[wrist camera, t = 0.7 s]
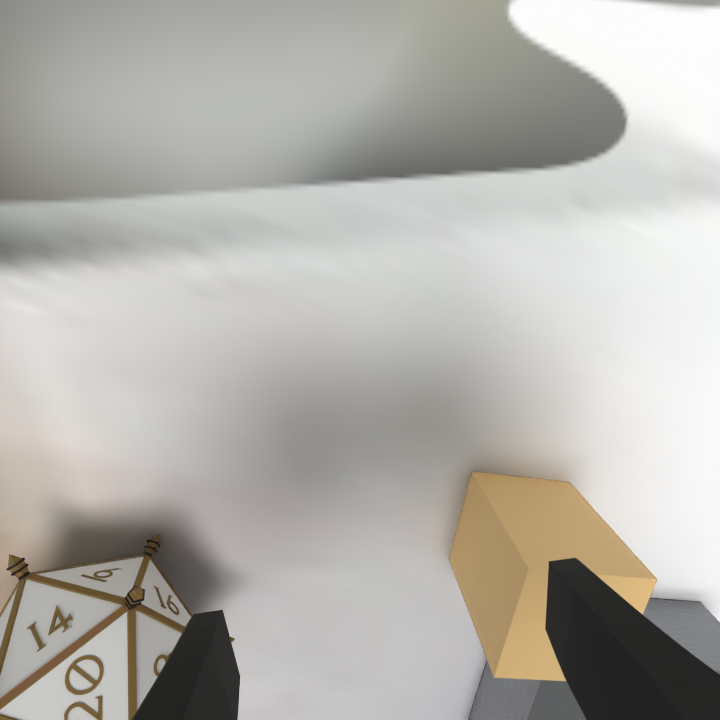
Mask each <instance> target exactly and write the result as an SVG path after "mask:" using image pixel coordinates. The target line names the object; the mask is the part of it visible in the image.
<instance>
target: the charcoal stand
mask: <svg viewBox="0 0 720 720" xmlns="http://www.w3.org/2000/svg"><path fill="white" fill-rule="evenodd" d="M643 615H644V616H645V617H646V618H647V619H649V620H650V621H651V622H652V623H654V624H655V625H656V626H657V627H659V628H660V629H661V630H662V631H664V632H665V633H666V634H667V635H669V636H670V637H671V638H672V639H674V640H675V641H676V642H677V643H679V644H680V645H681V646H682V647H684V648H685V649H686V650H688V651H689V652H690V653H691V654H693V655H694V656H695V657H697V658H698V659H699V660H701V661H702V662H703V663H705V664H706V665H707V666H709V667H710V668H712V669H713V670H714V671H716V672H717V673H718V674H720V622H719V621H718V620H717V619H716V618H715V617H714V616H713V615H712V614H711V613H710V612H709V611H708V610H707V609H706V608H705V607H704V606H703V605H702V604H701V602H692V601H679V600H666V599H653V598H649V600H648V603H647V605H646V608H645V610H644V613H643ZM469 720H586V718H585V716H584V714H583V712H582V710H581V708H580V706H579V704H578V702H577V701H576V699H575V697H574V695H573V693H572V691H571V689H570V687H569V685H568V683H567V681H552V680H531V679H511V678H494V677H493V674H492V672H491V669H490V666H489V664H488V661H487V662H486V665H485V668H484V672H483V675H482V678H481V681H480V684H479V688H478V691H477V694H476V697H475V700H474V704H473V707H472V710H471V713H470V716H469Z"/></svg>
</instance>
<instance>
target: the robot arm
mask: <svg viewBox="0 0 720 720" xmlns="http://www.w3.org/2000/svg"><path fill="white" fill-rule="evenodd" d="M545 630H546V632H547V635H548V637H549V640H550V642H551V645H552V648H553V650H554V653H555V655H556V658H557V660H558V663H559V665H560V667H561V670H562V672H563V675H564V677H565V679H566V681H567V683H568V685H569V687H570V689H571V691H572V693H573V695H574V697H575V699H576V701H577V702H578V704H579V706H580V708H581V710H582V712H583V714H584V716H585V718H586V720H720V674H718V673H717V672H716V671H714V670H713V669H712V668H710V667H709V666H707V665H706V664H705V663H703V662H702V661H701V660H699V659H698V658H697V657H695V656H694V655H693V654H691V653H690V652H689V651H688V650H686V649H685V648H684V647H682V646H681V645H680V644H679V643H677V642H676V641H675V640H674V639H672V638H671V637H670V636H669V635H667V634H666V633H665V632H664V631H662V630H661V629H660V628H659V627H657V626H656V625H655V624H654V623H652V622H651V621H650V620H649V619H647V618H646V617H645V616H644V615H643V614H641V613H640V612H639V611H638V610H637V609H635V608H634V607H633V606H632V605H631V604H629V603H628V602H627V601H626V600H625V599H624V598H622V597H621V596H620V595H619V594H618V593H617V592H615V591H614V590H613V589H612V588H611V587H610V586H608V585H607V584H606V583H605V582H604V581H603V580H601V579H600V578H599V577H598V576H597V575H596V574H594V573H593V572H592V571H591V570H590V569H589V568H588V567H586V566H585V565H584V564H583V563H582V562H580V561H579V560H578V559H577V558H569V559H562V560H555V561H549V569H548V587H547V606H546V624H545ZM239 686H240V674H239V671H238V667H237V663H236V659H235V655H234V652H233V648H232V644H231V640H230V637H229V633H228V629H227V625H226V621H225V618H224V614H223V610H219V611H212V612H205V613H199V614H194V615H193V616H192V617H191V618H190V620H189V621H188V623H187V625H186V627H185V629H184V631H183V632H182V634H181V636H180V638H179V640H178V642H177V643H176V645H175V647H174V649H173V651H172V652H171V654H170V656H169V658H168V660H167V661H166V663H165V665H164V666H163V668H162V670H161V672H160V673H159V675H158V677H157V679H156V680H155V682H154V684H153V685H152V687H151V689H150V690H149V692H148V693H147V695H146V697H145V698H144V700H143V702H142V703H141V705H140V707H139V708H138V710H137V711H136V713H135V715H134V716H133V718H132V720H237V717H238V703H239Z"/></svg>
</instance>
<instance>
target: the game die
mask: <svg viewBox="0 0 720 720" xmlns="http://www.w3.org/2000/svg"><path fill="white" fill-rule="evenodd" d="M147 542H148V543H147V545H146V546H145V547H144V548H145V552H144V554H143V555H137V556H130V557H124V558H118V559H112V560H106V561H100V562H94V563H87V564H81V565H75V566H69V567H63V568H57V569H51V570H44V571H38V572H32V573H30V572H29V571H28V568H27V566H28V564H26V563H25V562H24V560H25V558H19V557H16V556H13V555H10V554H9V563H8V568H7V571H8V570H10V571H11V573H12V574H11V575H12V576H13V575H14V576H16V577H18V579H19V582H18V583H17V585H16V587H15V589H14V590H13V592H12V594H11V596H10V597H9V599H8V601H7V603H6V604H5V606H4V608H3V609H2V611H1V613H0V720H132V718H133V716H134V715H135V713H136V711H137V710H138V708H139V707H140V705H141V703H142V702H143V700H144V698H145V697H146V695H147V693H148V692H149V690H150V689H151V687H152V685H153V684H154V682H155V680H156V679H157V677H158V675H159V673H160V672H161V670H162V668H163V666H164V665H165V663H166V661H167V660H168V658H169V656H170V654H171V652H172V651H173V649H174V647H175V645H176V643H177V642H178V640H179V638H180V636H181V634H182V632H183V631H184V629H185V627H186V625H187V623H188V621H189V620H190V618H191V617H192V614H191V613H190V611H189V610H188V609H187V607H186V606H185V604H184V603H183V601H182V600H181V599H180V597H179V596H178V594H177V593H176V591H175V590H174V589H173V587H172V586H171V584H170V583H169V582H168V580H167V579H166V577H165V576H164V574H163V573H162V572H161V570H160V569H159V567H158V566H157V564H156V563H155V562H154V560H153V559H152V555H153V554H154V553H155V552H157V548H158V547H160V544H159V534H158V535H156V536H155V537H153V538H152V539H150V540H147ZM230 640H231V642H232V641H233V640H235V639H234V638H232V637H230Z"/></svg>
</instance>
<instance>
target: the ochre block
mask: <svg viewBox="0 0 720 720" xmlns="http://www.w3.org/2000/svg"><path fill="white" fill-rule="evenodd" d="M569 558H577V559H578V560H579V561H580V562H582V563H583V564H584V565H585V566H586V567H588V568H589V569H590V570H591V571H592V572H593V573H594V574H596V575H597V576H598V577H599V578H600V579H601V580H603V581H604V582H605V583H606V584H607V585H608V586H610V587H611V588H612V589H613V590H614V591H615V592H617V593H618V594H619V595H620V596H621V597H622V598H624V599H625V600H626V601H627V602H628V603H629V604H631V605H632V606H633V607H634V608H635V609H637V610H638V611H639V612H640V613H641V614H643V613H644V610H645V608H646V605H647V603H648V600H649V598H650V596H651V593H652V591H653V588H654V586H655V583H656V581H657V579H656V577H655V576H654V575H653V574H652V573H651V572H650V571H649V570H648V569H647V567H646V566H645V565H644V564H643V563H642V562H641V561H640V560H639V559H638V557H637V556H636V555H635V554H634V553H633V552H632V551H631V550H630V549H629V547H628V546H627V545H626V544H625V543H624V542H623V541H622V540H621V539H620V538H619V536H618V535H617V534H616V533H615V532H614V531H613V530H612V529H611V528H610V526H609V525H608V524H607V523H606V522H605V521H604V520H603V519H602V518H601V516H600V515H599V514H598V513H597V512H596V511H595V510H594V509H593V508H592V506H591V505H590V504H589V503H588V502H587V501H586V500H585V499H584V498H583V497H582V495H581V494H580V493H579V492H578V491H577V490H576V489H575V488H574V487H573V485H572V484H571V483H570V482H564V481H554V480H545V479H536V478H527V477H517V476H508V475H499V474H490V473H481V472H472V473H471V477H470V481H469V485H468V488H467V492H466V496H465V500H464V503H463V507H462V511H461V515H460V518H459V522H458V526H457V530H456V534H455V537H454V541H453V545H452V549H451V552H450V556H449V561H450V564H451V567H452V569H453V572H454V574H455V577H456V580H457V582H458V585H459V588H460V590H461V593H462V595H463V598H464V601H465V603H466V606H467V609H468V611H469V614H470V616H471V619H472V622H473V624H474V627H475V630H476V632H477V635H478V637H479V640H480V643H481V645H482V648H483V651H484V653H485V656H486V658H487V661H488V664H489V666H490V669H491V672H492V674H493V677H494V678H511V679H531V680H552V681H566V679H565V677H564V675H563V672H562V670H561V667H560V665H559V663H558V660H557V658H556V655H555V653H554V650H553V648H552V645H551V642H550V640H549V637H548V635H547V632H546V630H545V624H546V606H547V587H548V569H549V561H555V560H562V559H569Z"/></svg>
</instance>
